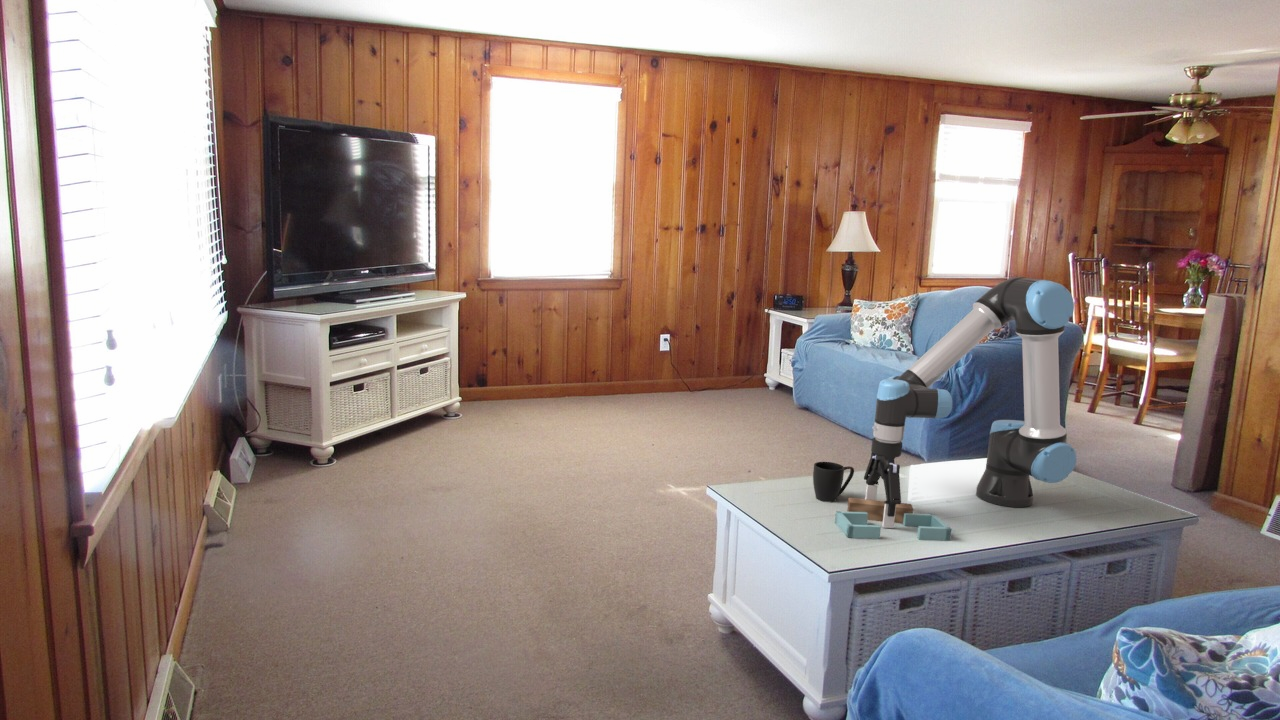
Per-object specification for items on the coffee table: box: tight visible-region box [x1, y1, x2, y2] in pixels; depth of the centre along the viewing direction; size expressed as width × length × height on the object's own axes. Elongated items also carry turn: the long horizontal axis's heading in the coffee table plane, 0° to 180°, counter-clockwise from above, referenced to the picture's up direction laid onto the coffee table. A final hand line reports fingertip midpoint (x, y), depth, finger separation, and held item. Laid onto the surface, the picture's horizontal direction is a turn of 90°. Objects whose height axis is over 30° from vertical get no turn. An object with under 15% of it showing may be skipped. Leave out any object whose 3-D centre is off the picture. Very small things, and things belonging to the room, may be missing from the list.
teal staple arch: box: [902, 512, 953, 541], centre depth 216 cm, size 8×10×3 cm
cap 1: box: [834, 510, 882, 540], centre depth 215 cm, size 8×10×3 cm
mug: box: [812, 461, 855, 503], centre depth 238 cm, size 8×12×10 cm
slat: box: [846, 497, 914, 525], centre depth 224 cm, size 16×4×4 cm, turn 82°
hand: (878, 517), depth 225 cm, fingers open, 13 cm apart
